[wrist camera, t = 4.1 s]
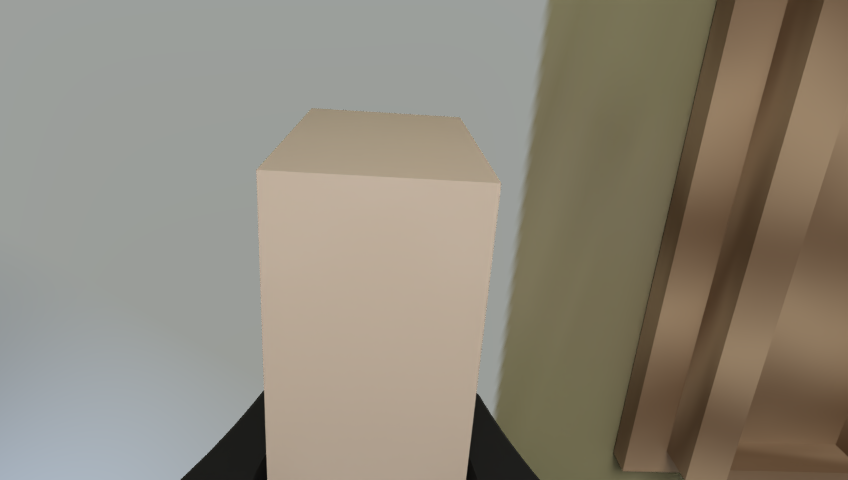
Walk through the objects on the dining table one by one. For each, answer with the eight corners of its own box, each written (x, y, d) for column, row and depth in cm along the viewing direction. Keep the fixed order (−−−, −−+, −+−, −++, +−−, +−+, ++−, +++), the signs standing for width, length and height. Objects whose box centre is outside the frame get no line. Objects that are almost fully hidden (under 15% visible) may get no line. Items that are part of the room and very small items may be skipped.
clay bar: (421, 552, 16) (431, 770, 12) (311, 551, 16) (277, 772, 11) (460, 117, 12) (501, 182, 7) (311, 108, 12) (256, 169, 7)
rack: (876, 459, 24) (928, 507, 22) (613, 452, 23) (637, 501, 21) (1084, -23, 17) (1190, -29, 15) (729, -53, 17) (783, -64, 14)
